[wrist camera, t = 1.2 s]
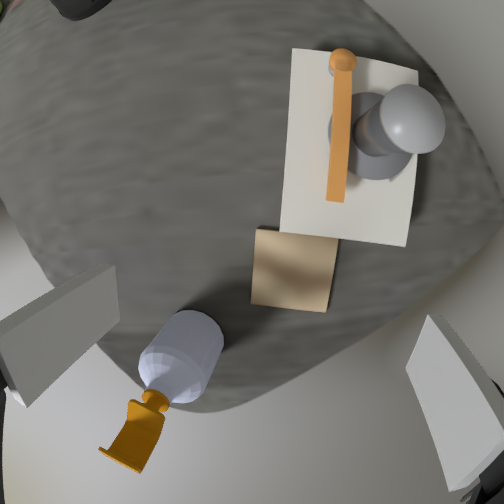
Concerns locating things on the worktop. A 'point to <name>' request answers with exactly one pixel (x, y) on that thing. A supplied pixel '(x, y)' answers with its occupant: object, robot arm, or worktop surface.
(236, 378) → the worktop surface
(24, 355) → the robot arm
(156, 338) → the soap bottle
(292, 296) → the cork mat
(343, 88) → the clip
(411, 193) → the socket block
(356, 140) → the plug
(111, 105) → the worktop surface
